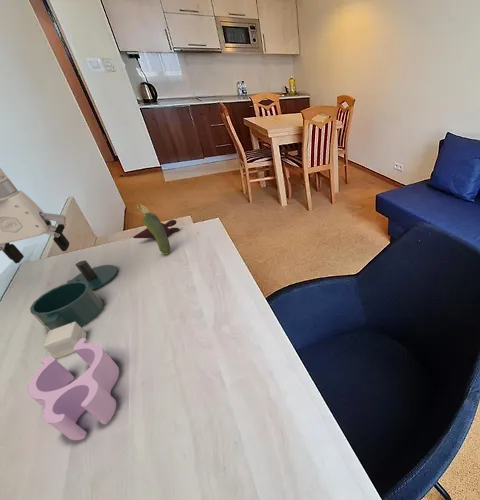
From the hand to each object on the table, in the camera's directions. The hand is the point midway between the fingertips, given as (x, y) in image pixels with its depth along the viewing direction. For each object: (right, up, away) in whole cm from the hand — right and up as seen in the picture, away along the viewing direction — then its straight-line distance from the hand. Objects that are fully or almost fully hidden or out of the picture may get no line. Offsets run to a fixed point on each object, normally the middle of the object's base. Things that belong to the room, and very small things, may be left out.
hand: (43, 254), depth 77 cm
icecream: (+5, +5, +39) cm, 40 cm away
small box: (+9, -23, -1) cm, 25 cm away
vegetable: (+14, -1, +29) cm, 33 cm away
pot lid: (-4, -8, +20) cm, 22 cm away
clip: (+23, -30, -13) cm, 40 cm away
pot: (+2, -17, +7) cm, 19 cm away
